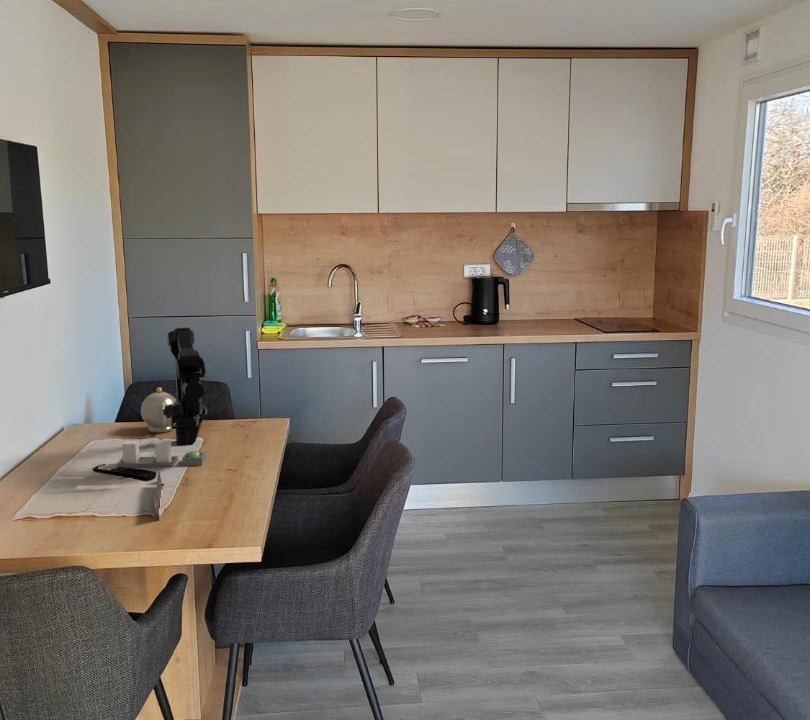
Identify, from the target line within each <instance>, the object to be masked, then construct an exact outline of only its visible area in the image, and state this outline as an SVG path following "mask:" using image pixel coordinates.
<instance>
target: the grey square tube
mask: <svg viewBox="0 0 810 720" xmlns="http://www.w3.org/2000/svg"><path fill="white" fill-rule="evenodd" d="M188 453H189V452H186V453H185V454H184V456H183V457H182V461H181V462H182V466H183V467H198V466H199V467H202V466H203V465H204V463H205V462H206V461H207V460H206V458H207V457H206V452H199V455H200V457H188Z"/></svg>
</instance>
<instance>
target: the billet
mask: <svg viewBox="0 0 810 720" xmlns="http://www.w3.org/2000/svg"><path fill="white" fill-rule="evenodd" d="M121 448H122V449H121V450H122V457H123V463H139V461H140V457H141V455H140V452H139V450H140V443H139V440H125V441H124V442H123V443H122V445H121Z"/></svg>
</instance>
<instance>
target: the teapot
mask: <svg viewBox="0 0 810 720" xmlns="http://www.w3.org/2000/svg"><path fill="white" fill-rule="evenodd" d="M155 391H156V392H152V393H151V394H149V395H148V396H146V398H145V399H144V400H143V402H142V404H141V406H140V407H141V408H140V414H141V417H142V419H143V422H144V423H146V425H148V431H149V432H150V433H152V434H153V433H154V434H163V433H165V434H166V433H170V432H172V431H173V430H174V429H172V427H171V418H168V419H167V418H166V416H165V415H163V413H164V412H163V409H164V408H165V406H168V405H169V404H171V405H172V404H174V403H175V401H176V399H177V398H176V397H174V396H173V395H172V394H170V393H168V392H166V391H163V389H162V387H157V388H156V390H155Z"/></svg>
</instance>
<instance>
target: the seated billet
mask: <svg viewBox="0 0 810 720" xmlns="http://www.w3.org/2000/svg"><path fill="white" fill-rule="evenodd" d="M154 450H155V451H154V453H155V456H154V457H156V463H159V462H171V461H172V455H173V454H172V442H171V440H169V439H168V440H167V439H166V440H164V439H163V440H162V439H161V440H157V441H156V442H155V443H154Z"/></svg>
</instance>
